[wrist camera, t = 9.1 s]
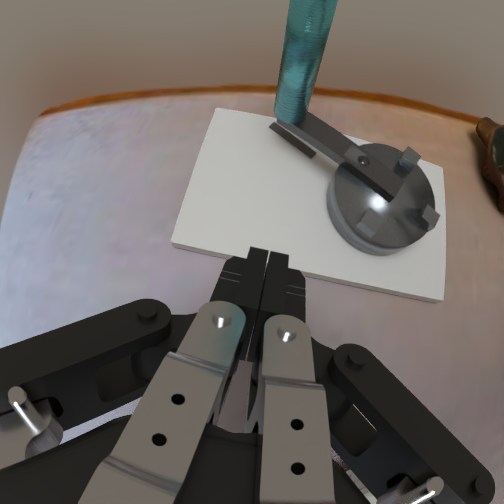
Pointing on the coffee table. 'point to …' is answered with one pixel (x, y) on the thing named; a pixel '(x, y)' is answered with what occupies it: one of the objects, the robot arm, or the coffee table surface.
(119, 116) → the coffee table surface
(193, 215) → the white rectangular board
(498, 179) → the decorative turtle
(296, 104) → the teal handled crank
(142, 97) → the coffee table surface
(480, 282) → the coffee table surface
